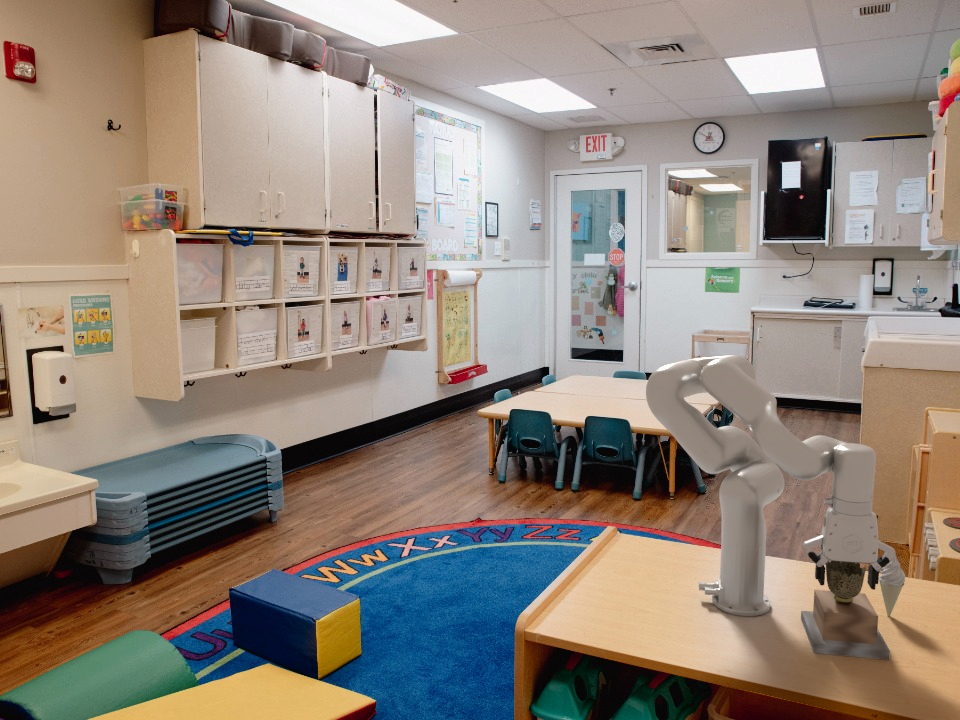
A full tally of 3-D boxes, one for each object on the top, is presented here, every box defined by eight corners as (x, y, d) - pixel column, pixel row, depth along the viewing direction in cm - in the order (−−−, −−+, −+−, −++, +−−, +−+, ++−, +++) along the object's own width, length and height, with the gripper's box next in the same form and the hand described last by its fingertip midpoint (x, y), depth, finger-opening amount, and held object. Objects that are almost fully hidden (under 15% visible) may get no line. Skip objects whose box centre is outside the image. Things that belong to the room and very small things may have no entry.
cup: (816, 594, 165) (818, 558, 163) (849, 592, 165) (852, 556, 164) (836, 611, 157) (838, 574, 156) (870, 609, 158) (873, 572, 157)
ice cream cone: (905, 622, 168) (910, 556, 166) (879, 620, 169) (884, 555, 167) (897, 611, 173) (902, 547, 171) (873, 609, 174) (877, 545, 172)
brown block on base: (813, 652, 157) (815, 615, 156) (800, 619, 171) (802, 584, 169) (889, 659, 154) (892, 622, 153) (870, 625, 168) (872, 590, 166)
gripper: (809, 509, 156) (804, 589, 159) (904, 514, 152) (897, 596, 155) (802, 496, 163) (797, 573, 166) (892, 501, 159) (886, 580, 162)
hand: (845, 584), depth 160 cm, fingers open, 9 cm apart
